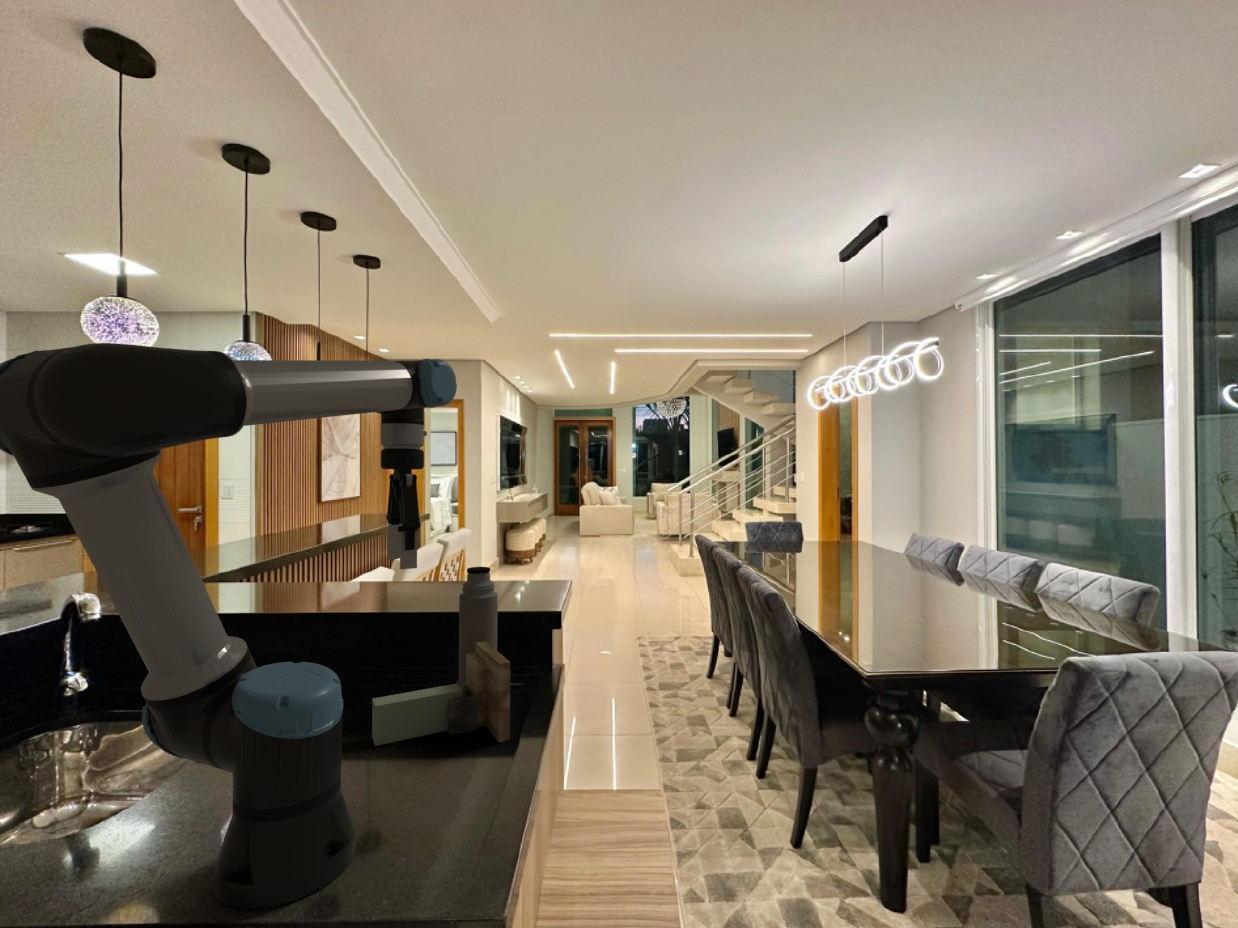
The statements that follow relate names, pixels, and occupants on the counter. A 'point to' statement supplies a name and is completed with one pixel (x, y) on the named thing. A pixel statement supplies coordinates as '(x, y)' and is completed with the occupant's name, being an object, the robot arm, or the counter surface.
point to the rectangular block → (413, 713)
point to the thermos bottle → (476, 614)
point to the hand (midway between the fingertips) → (401, 563)
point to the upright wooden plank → (483, 695)
